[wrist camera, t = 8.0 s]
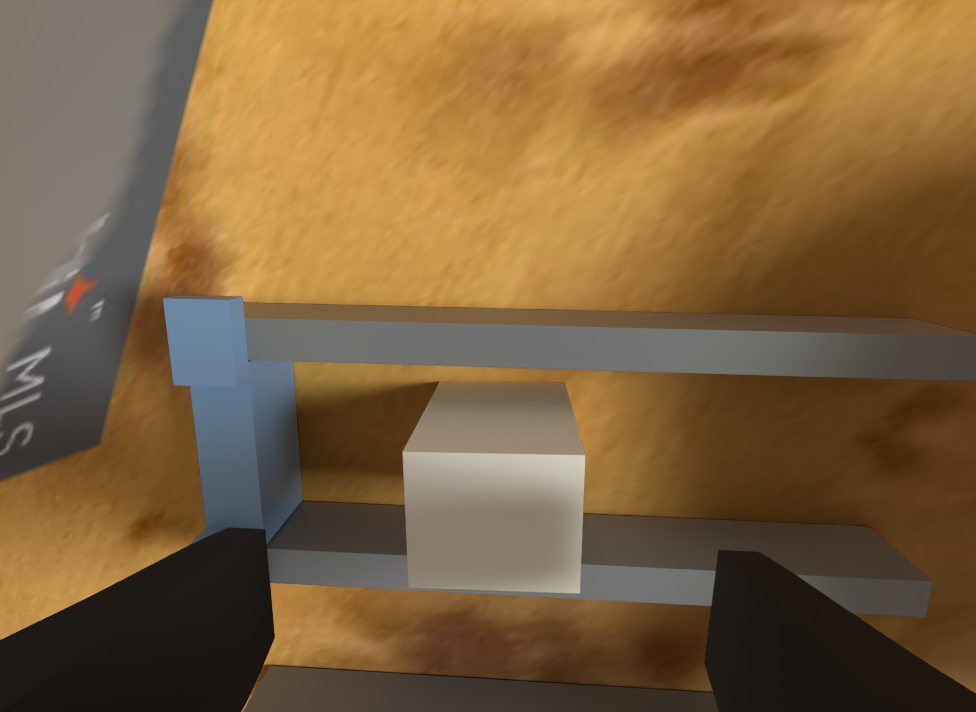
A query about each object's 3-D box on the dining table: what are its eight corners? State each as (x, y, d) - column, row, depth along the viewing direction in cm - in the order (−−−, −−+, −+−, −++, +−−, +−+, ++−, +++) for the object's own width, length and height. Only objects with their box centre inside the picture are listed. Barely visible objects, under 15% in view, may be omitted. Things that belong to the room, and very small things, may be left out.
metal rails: (271, 690, 18) (222, 782, 15) (234, 284, 15) (162, 298, 12) (830, 726, 17) (896, 833, 14) (913, 298, 14) (1020, 318, 11)
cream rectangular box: (442, 479, 16) (408, 587, 11) (440, 380, 15) (402, 451, 11) (562, 481, 16) (580, 593, 11) (564, 382, 15) (585, 455, 10)
